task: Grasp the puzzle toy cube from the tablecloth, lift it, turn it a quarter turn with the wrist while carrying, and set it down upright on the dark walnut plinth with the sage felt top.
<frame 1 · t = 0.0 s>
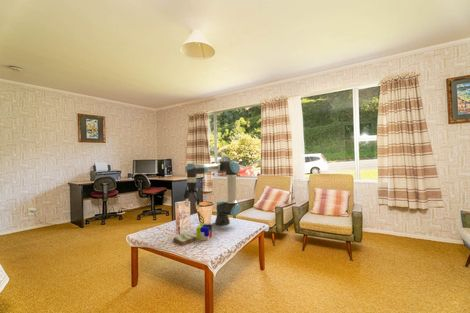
hand: (192, 207, 178), 28 cm above the table, fingers open, 13 cm apart
plinth: (184, 240, 180), on the table
puzzle toy: (204, 238, 186), on the table
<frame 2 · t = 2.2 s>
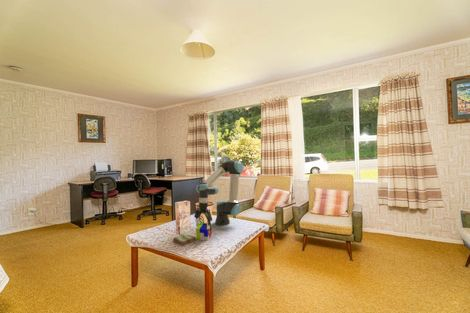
hand: (202, 227, 184), 9 cm above the table, fingers open, 13 cm apart
puzzle toy: (204, 236, 186), point 1 cm above the table, touching gripper
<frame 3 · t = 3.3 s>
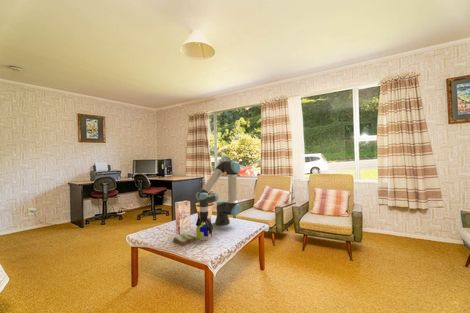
hand: (204, 235, 186), 2 cm above the table, fingers closed on puzzle toy, 12 cm apart
puzzle toy: (204, 237, 186), on the table, touching gripper
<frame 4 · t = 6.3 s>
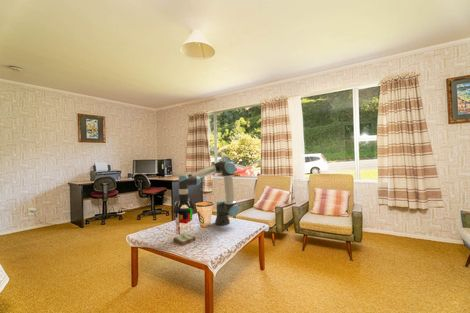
hand: (184, 219, 180), 18 cm above the table, fingers closed on puzzle toy, 12 cm apart
puzzle toy: (184, 221, 180), point 16 cm above the table, touching gripper
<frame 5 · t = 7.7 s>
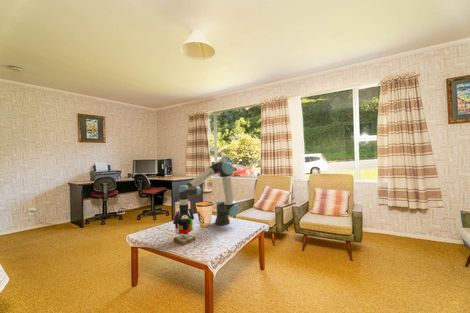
hand: (184, 229, 180), 9 cm above the table, fingers closed on puzzle toy, 12 cm apart
puzzle toy: (184, 231, 180), point 8 cm above the table, touching gripper
when the fingers open (6 cm above the table, at t = 9.1 s): puzzle toy drops 1 cm, resting on plinth.
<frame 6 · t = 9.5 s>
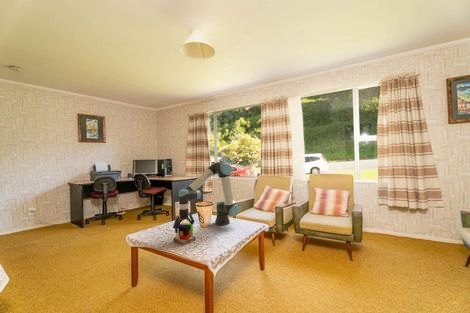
hand: (184, 233, 180), 6 cm above the table, fingers open, 13 cm apart
puzzle toy: (184, 237, 180), point 3 cm above the table, touching plinth
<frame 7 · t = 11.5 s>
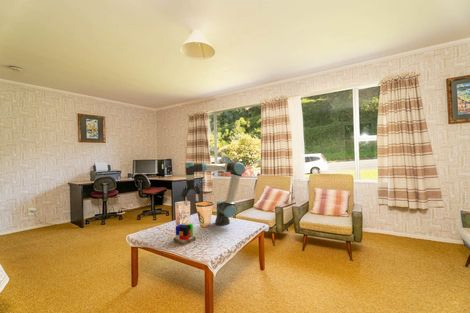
hand: (191, 202, 195), 28 cm above the table, fingers open, 13 cm apart
nothing on the table moved.
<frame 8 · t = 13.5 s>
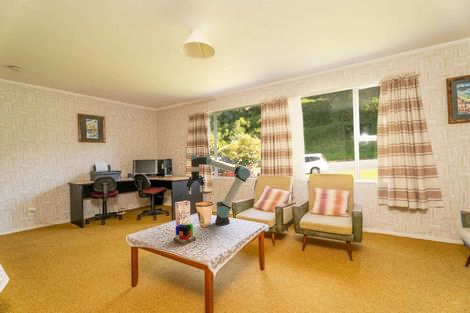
hand: (195, 193, 208), 35 cm above the table, fingers open, 13 cm apart
nothing on the table moved.
at the end: puzzle toy inside the target area on the plinth (0.2 cm from its centre), point 2.8 cm above the plinth's base; puzzle toy tilted 0°; the gripper is holding nothing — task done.
